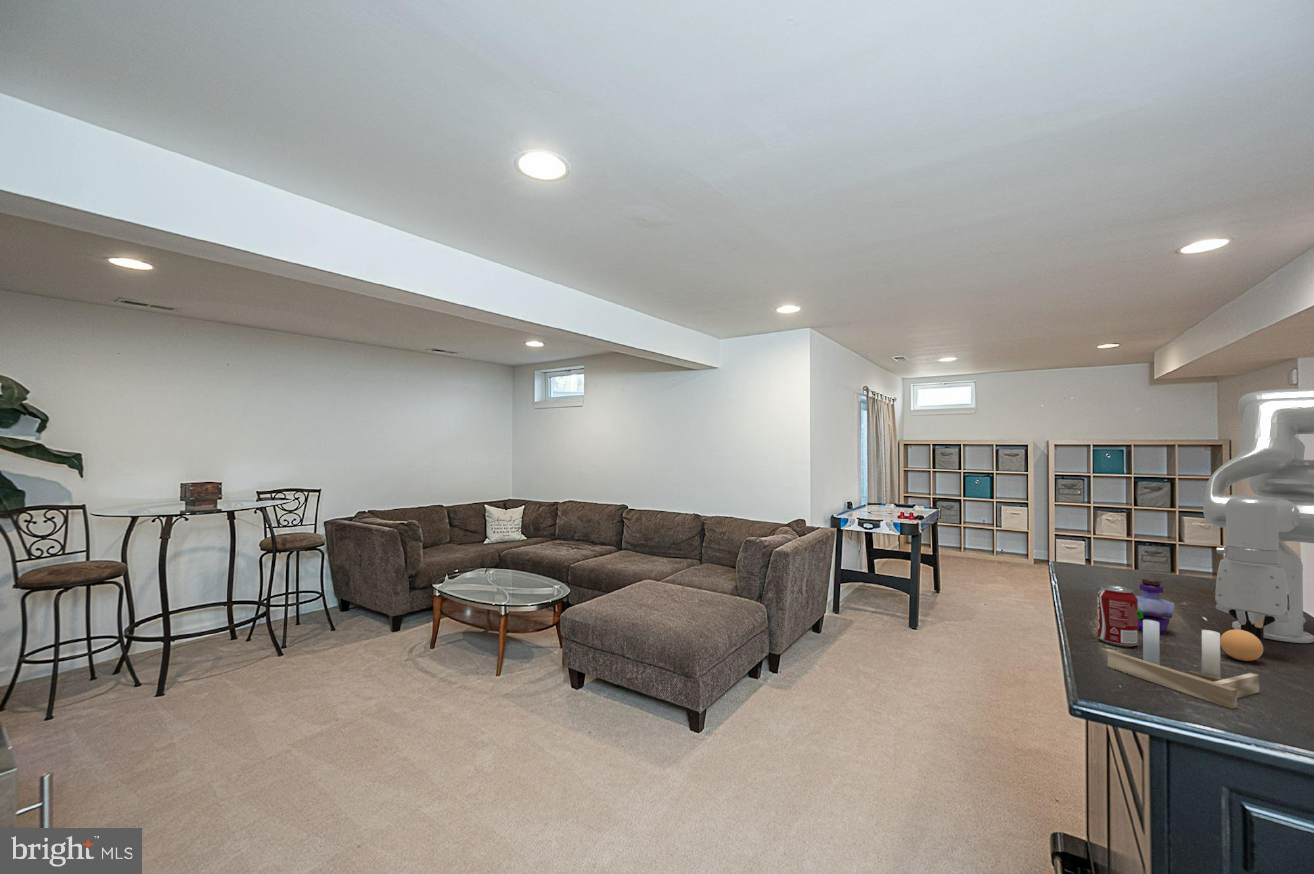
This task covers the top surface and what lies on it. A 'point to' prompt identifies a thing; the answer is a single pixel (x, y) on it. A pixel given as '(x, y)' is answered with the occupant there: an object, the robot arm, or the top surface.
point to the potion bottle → (1153, 605)
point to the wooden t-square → (1188, 680)
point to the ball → (1241, 645)
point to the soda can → (1117, 616)
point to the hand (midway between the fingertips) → (1252, 644)
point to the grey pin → (1151, 641)
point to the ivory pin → (1211, 653)
